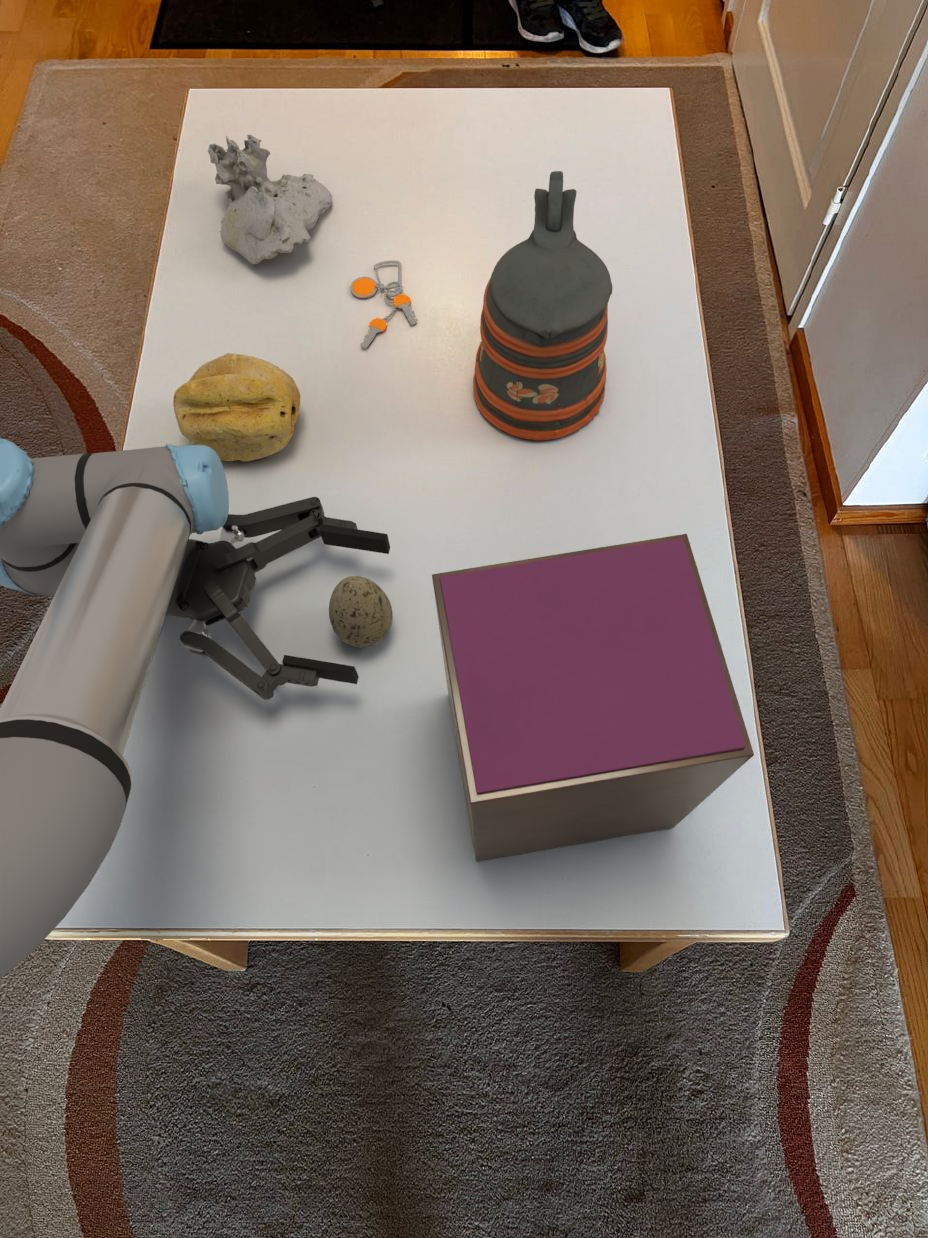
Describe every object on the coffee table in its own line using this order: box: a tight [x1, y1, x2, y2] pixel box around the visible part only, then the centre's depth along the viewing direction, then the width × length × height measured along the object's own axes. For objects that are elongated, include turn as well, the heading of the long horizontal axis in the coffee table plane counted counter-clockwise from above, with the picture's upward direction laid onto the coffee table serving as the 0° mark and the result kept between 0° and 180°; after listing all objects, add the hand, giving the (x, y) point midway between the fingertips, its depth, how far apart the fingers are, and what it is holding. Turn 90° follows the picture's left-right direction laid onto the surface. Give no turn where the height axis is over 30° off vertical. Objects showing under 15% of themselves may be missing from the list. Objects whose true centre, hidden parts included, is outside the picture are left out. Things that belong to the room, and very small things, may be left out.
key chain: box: [349, 260, 418, 349], centre depth 103 cm, size 13×7×1 cm, turn 8°
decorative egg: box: [328, 575, 394, 648], centre depth 82 cm, size 6×6×10 cm
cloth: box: [440, 538, 746, 794], centre depth 57 cm, size 17×15×1 cm
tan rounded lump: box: [172, 352, 301, 463], centre depth 92 cm, size 13×10×10 cm
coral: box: [207, 134, 333, 265], centre depth 104 cm, size 17×14×10 cm
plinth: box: [431, 533, 755, 863], centre depth 69 cm, size 18×16×26 cm
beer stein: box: [472, 170, 613, 442], centre depth 89 cm, size 19×15×20 cm
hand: (372, 607), depth 81 cm, fingers open, 13 cm apart
